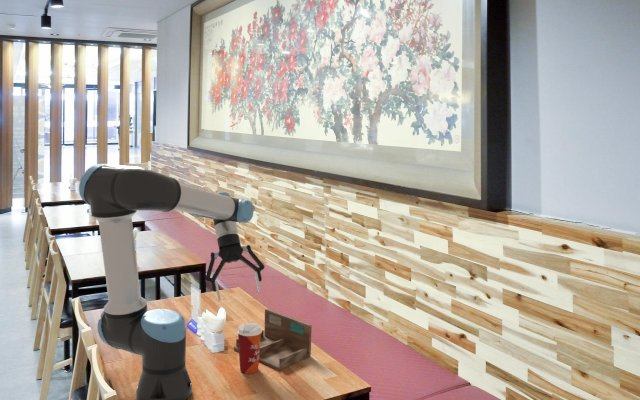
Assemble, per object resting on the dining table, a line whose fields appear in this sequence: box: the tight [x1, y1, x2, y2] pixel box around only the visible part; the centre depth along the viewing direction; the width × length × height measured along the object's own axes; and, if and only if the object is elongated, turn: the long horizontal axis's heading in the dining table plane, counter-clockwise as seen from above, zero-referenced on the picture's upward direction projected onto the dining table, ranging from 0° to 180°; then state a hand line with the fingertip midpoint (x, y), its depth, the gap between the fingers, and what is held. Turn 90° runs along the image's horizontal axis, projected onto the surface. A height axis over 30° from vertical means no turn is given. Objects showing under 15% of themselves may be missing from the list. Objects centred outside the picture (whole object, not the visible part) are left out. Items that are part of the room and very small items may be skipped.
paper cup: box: [236, 322, 263, 375], centre depth 165 cm, size 8×8×14 cm
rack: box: [233, 308, 313, 371], centre depth 178 cm, size 15×22×11 cm
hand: (239, 296), depth 178 cm, fingers open, 13 cm apart
